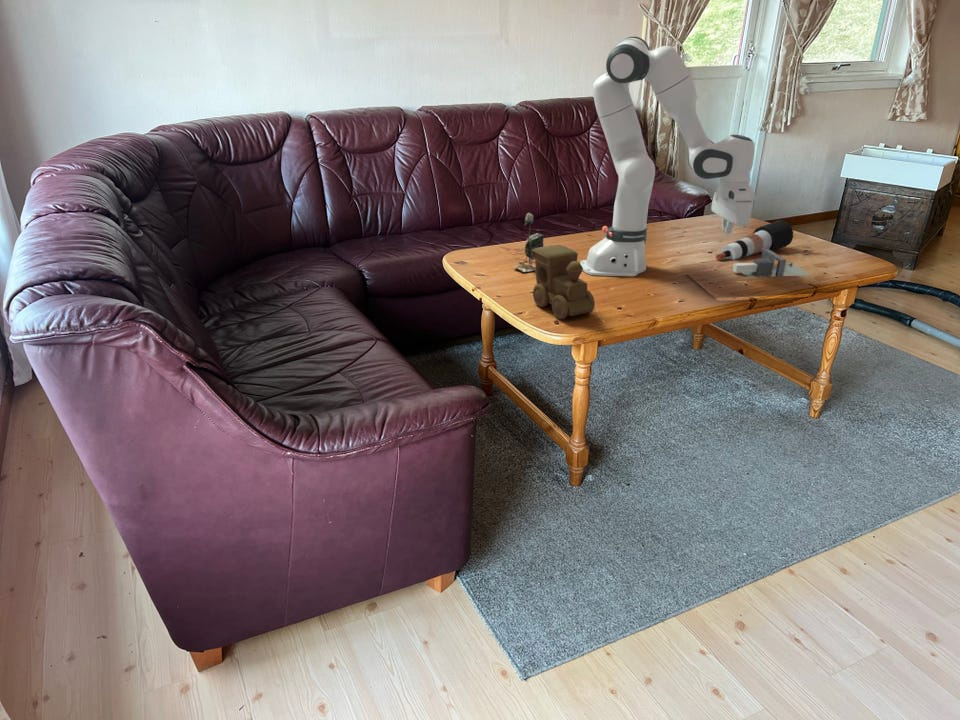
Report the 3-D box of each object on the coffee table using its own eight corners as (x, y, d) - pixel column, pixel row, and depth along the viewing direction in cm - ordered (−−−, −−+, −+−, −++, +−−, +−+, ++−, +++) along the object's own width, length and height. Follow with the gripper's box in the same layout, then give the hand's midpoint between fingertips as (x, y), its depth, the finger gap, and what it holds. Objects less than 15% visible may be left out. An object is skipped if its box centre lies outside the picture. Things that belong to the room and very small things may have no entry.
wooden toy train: (527, 301, 203) (528, 248, 196) (559, 295, 208) (561, 243, 201) (564, 324, 187) (567, 267, 180) (597, 317, 192) (602, 261, 185)
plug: (736, 275, 221) (738, 264, 219) (731, 271, 225) (733, 260, 223) (771, 274, 222) (773, 262, 221) (765, 270, 226) (767, 259, 224)
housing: (747, 280, 220) (751, 260, 217) (731, 268, 231) (734, 250, 228) (811, 277, 222) (815, 258, 219) (792, 266, 233) (796, 247, 230)
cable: (711, 273, 240) (703, 246, 239) (774, 249, 254) (766, 223, 253) (733, 268, 231) (724, 240, 230) (796, 243, 245) (788, 217, 244)
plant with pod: (549, 269, 230) (552, 211, 221) (520, 274, 226) (522, 215, 217) (537, 263, 237) (539, 206, 228) (509, 267, 232) (510, 209, 224)
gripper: (710, 182, 219) (703, 224, 225) (738, 196, 201) (730, 242, 207) (728, 182, 220) (721, 224, 226) (758, 196, 202) (750, 241, 208)
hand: (726, 232), depth 216 cm, fingers closed
